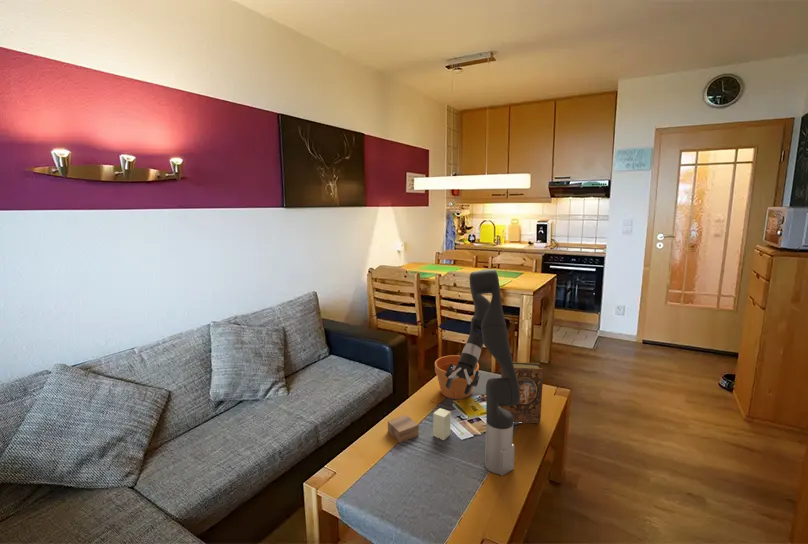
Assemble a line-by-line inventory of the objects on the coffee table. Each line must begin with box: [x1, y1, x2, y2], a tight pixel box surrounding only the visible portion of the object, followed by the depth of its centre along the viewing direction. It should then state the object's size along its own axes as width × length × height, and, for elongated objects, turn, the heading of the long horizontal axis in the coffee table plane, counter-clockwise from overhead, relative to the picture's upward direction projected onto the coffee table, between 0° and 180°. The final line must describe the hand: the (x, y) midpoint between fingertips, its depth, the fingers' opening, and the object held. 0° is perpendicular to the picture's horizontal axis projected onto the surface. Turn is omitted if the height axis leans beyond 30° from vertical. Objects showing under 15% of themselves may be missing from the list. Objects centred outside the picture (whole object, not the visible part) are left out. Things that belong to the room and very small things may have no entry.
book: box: [499, 361, 544, 425], centre depth 173 cm, size 16×6×25 cm, turn 84°
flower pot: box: [434, 354, 480, 400], centre depth 198 cm, size 21×21×15 cm
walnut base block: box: [387, 414, 420, 444], centre depth 166 cm, size 9×9×5 cm
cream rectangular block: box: [432, 407, 452, 441], centre depth 164 cm, size 5×5×10 cm
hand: (456, 390), depth 171 cm, fingers open, 8 cm apart
